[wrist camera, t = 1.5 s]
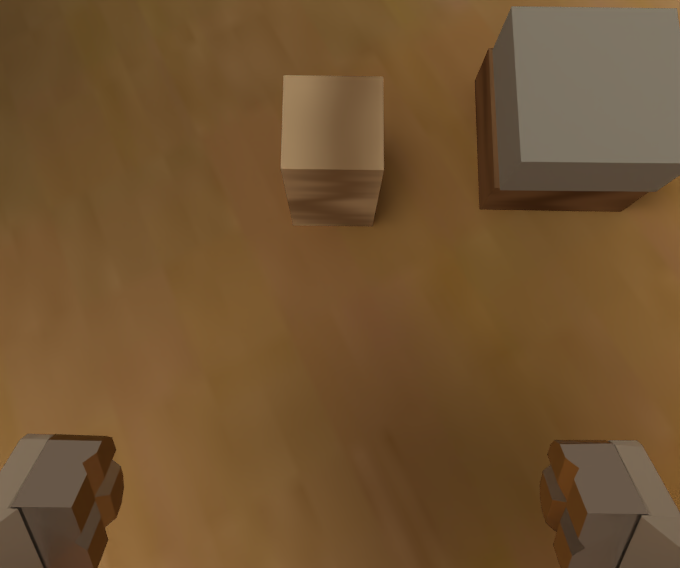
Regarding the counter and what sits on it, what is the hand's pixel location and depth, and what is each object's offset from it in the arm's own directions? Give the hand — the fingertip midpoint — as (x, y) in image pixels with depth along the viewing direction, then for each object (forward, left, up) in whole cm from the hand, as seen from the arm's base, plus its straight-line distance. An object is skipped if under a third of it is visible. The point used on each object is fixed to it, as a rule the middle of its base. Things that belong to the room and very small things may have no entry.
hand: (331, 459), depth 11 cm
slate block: (+2, +23, -21) cm, 31 cm away
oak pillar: (-8, +13, -25) cm, 29 cm away
